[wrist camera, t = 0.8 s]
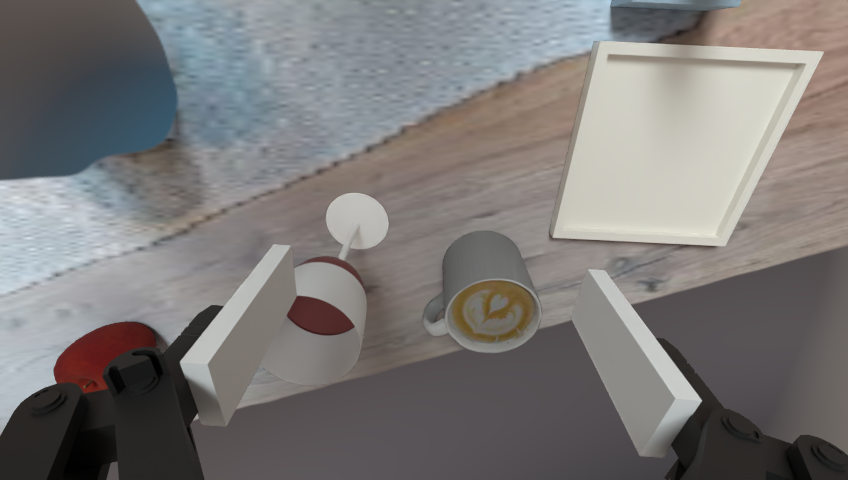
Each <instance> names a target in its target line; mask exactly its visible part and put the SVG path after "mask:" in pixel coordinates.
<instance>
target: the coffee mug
mask: <svg viewBox="0 0 848 480" xmlns="http://www.w3.org/2000/svg"><path fill="white" fill-rule="evenodd" d="M442 310H444V316H443V318H442V319H440V320H439V321H437V322H436V317H437V315H438V314H439V313H440V312H441V311H442ZM541 317H542V308H541V304H540V301H539V298H538V296H537V293H536V291H535V288H534V286H533V283H532V281H531V279H530V276H529V274H528V271H527V269H526V266H525V264H524V262H523V259H522V257H521V254H520V252H519V250H518V248H517V246H516V245H515V244H514V243H513V242H512V241H511V240H510V239H509V238H507V237H506V236H504V235H502V234H499V233H496V232H491V231H477V232H473V233H469V234H466V235H464V236H462V237H461V238H459V239H457V240H456V241H455V242H454V243H453V244H452V245H451V246H450V247H449V248H448V250H447V252H446V254H445V256H444V259H443V292H442V293H441V294H439V295H438V296H437V297H435V298H434V299H433V300H431V301H430V302H429V303H428V304H427V306H426V308H425V310H424V314H423V325H424V327H425V329H426V330H427V332H428V333H429V334H430V335H432V336H442V335H445V334H447V333H449V334H450V335H451V337H452V338H453V339H454V340H455V341H456V342H457V343H458V344H460V345H461V346H463V347H465V348H467V349H470V350H473V351H476V352H481V353H499V352H504V351H508V350H511V349H514V348H516V347H518V346H520V345H522V344H523V343H525V342H526V341H527V340H529V339H530V338H531V337H532V336H533V334H534V333H535V332H536V330H537V329H538V327H539V325H540V322H541Z"/></svg>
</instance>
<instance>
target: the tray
mask: <svg viewBox="0 0 848 480" xmlns="http://www.w3.org/2000/svg"><path fill="white" fill-rule="evenodd" d="M823 53H824V52H818V51H798V50H777V49H757V48H736V47H715V46H695V45H674V44H654V43H633V42H613V41H594V43H593V47H592V51H591V56H590V60H589V64H588V68H587V73H586V77H585V81H584V85H583V90H582V94H581V98H580V102H579V107H578V111H577V115H576V119H575V124H574V128H573V132H572V136H571V141H570V145H569V149H568V153H567V158H566V162H565V166H564V170H563V175H562V179H561V183H560V187H559V192H558V196H557V200H556V204H555V209H554V213H553V217H552V221H551V226H550V230H549V233H550V234H551V236H552V237H553V238H569V239H589V240H609V241H629V242H649V243H669V244H689V245H709V246H725V245H726V243H727V241H728V240H729V238H730V236H731V234H732V232H733V230H734V228H735V226H736V224H737V222H738V220H739V218H740V216H741V214H742V212H743V210H744V208H745V206H746V204H747V202H748V200H749V198H750V196H751V194H752V192H753V190H754V188H755V187H756V185H757V183H758V181H759V179H760V177H761V175H762V173H763V171H764V169H765V167H766V165H767V163H768V161H769V159H770V157H771V155H772V153H773V151H774V149H775V147H776V145H777V143H778V141H779V139H780V137H781V135H782V134H783V132H784V130H785V128H786V126H787V124H788V122H789V120H790V118H791V116H792V114H793V112H794V110H795V108H796V106H797V104H798V102H799V100H800V98H801V96H802V94H803V92H804V90H805V88H806V86H807V84H808V82H809V81H810V79H811V77H812V75H813V73H814V71H815V69H816V67H817V65H818V63H819V61H820V59H821V57H822V55H823Z"/></svg>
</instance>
